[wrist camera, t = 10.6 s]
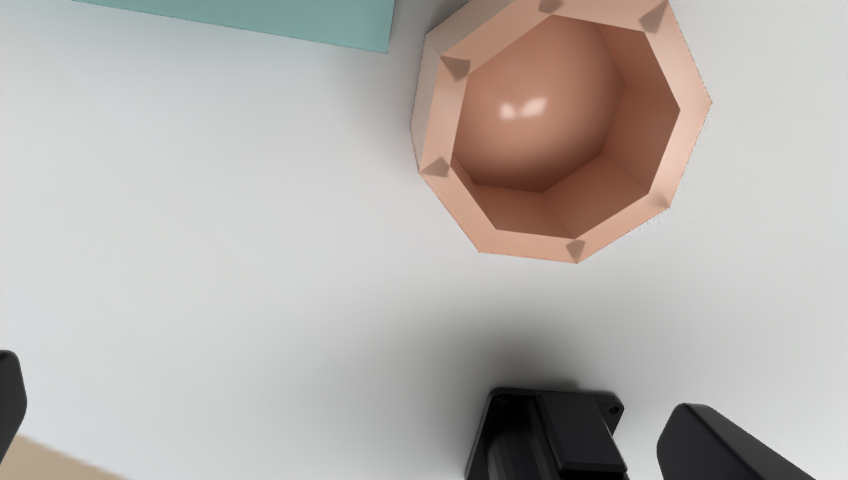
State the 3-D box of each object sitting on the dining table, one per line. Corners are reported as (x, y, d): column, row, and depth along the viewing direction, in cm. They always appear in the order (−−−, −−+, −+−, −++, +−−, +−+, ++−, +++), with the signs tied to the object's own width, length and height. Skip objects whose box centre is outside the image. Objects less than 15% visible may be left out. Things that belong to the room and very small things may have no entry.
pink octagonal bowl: (592, 212, 21) (643, 271, 17) (399, 187, 20) (405, 244, 16) (664, 2, 18) (748, 15, 14) (437, -42, 17) (456, -43, 13)
